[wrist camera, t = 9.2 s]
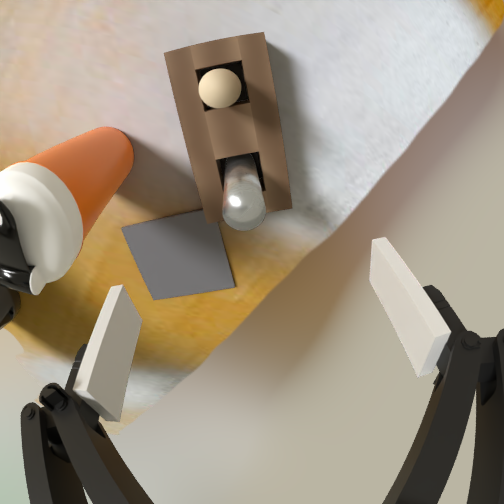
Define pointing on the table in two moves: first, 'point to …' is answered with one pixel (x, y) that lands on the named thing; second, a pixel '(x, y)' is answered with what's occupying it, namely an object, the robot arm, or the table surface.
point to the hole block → (230, 120)
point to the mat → (180, 255)
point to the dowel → (219, 88)
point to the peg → (242, 194)
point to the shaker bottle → (57, 205)
